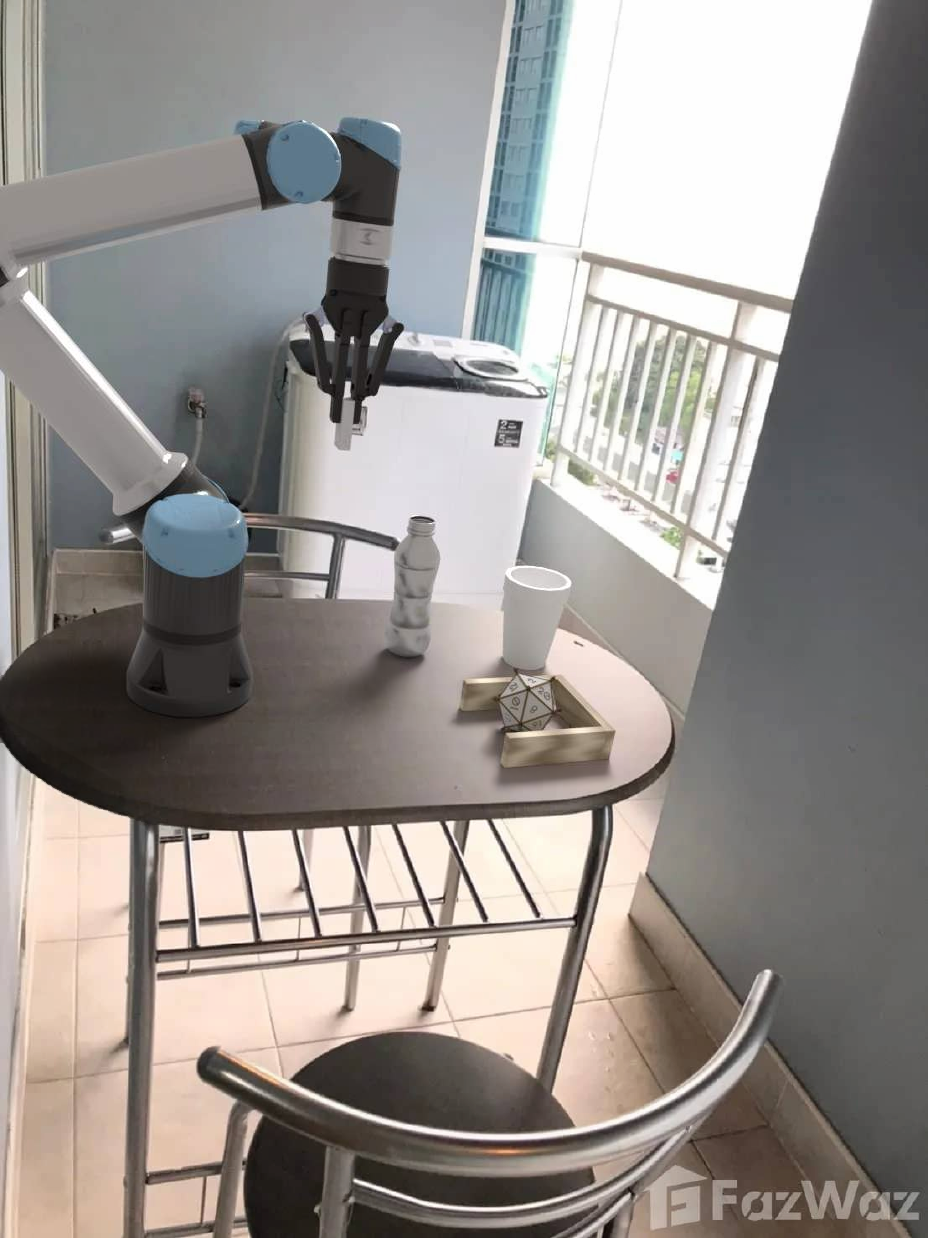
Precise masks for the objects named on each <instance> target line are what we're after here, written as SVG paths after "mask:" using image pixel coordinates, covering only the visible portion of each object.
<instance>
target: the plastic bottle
mask: <svg viewBox="0 0 928 1238" xmlns="http://www.w3.org/2000/svg"><path fill="white" fill-rule="evenodd" d="M435 528H436V519H435V518H433V517H430V516H426V515H420V514H418V515H411V516H410V517H409V519H408V523H407V527H406V532H407V533H408V534H407V535H406V536H405V537H404V538H403V539H402V540H401V541H400V542H399V544H398V545H397V547H396V549H395V552H394V555H393V560H394V561H393V564H394V565H393V566H394V587H393V599H392V604H391V608H390V609H391V610H390V614H389V618H388V621H387V623H386V627H385V628H386V629H385V631H384V638H385V639H384V640H385V646H386V647H387V649H388V651H389V652H390V653H392V654H395V655H397V656H400V657H406V658H407V657H408V658H409V657H410V658H411V657H414V658H415V657H418V656H421V655H424V653H425V652H426V650H428V648H429V646H430V642H431V639H432V637H431V634H432V633H431V632H432V629H431V604H432V603H431V602H432V597H433V596H432V595H433V592H434V588H435V587H434V586H435V582H436V577H437V574H438V572H439V567H440V562H441V553H440V550H439V547H438V545H437V543H436V542H435V540H434V538H433V536H434V535H435V534H436V529H435Z"/></svg>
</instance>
